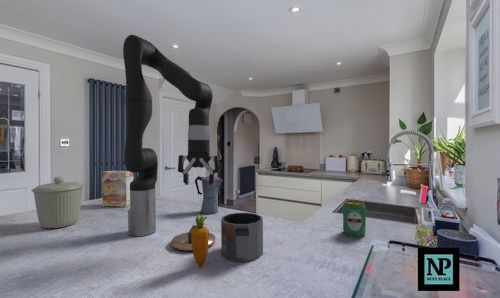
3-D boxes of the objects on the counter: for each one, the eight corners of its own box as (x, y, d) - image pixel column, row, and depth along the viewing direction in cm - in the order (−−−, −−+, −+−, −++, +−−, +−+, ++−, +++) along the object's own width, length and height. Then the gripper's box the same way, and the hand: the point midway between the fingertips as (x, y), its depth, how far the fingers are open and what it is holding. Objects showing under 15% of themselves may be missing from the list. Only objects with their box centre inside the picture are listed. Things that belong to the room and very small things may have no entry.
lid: (165, 253, 81) (165, 237, 81) (177, 236, 96) (177, 222, 96) (212, 252, 82) (212, 236, 82) (217, 235, 97) (217, 221, 96)
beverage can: (343, 235, 95) (343, 204, 95) (343, 228, 103) (343, 199, 102) (366, 238, 93) (366, 205, 92) (364, 231, 100) (364, 200, 100)
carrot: (192, 263, 74) (192, 212, 74) (209, 262, 75) (209, 212, 74) (190, 272, 69) (189, 217, 69) (208, 271, 70) (208, 216, 69)
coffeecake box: (102, 206, 142) (101, 171, 141) (111, 203, 149) (110, 170, 148) (126, 207, 139) (125, 172, 139) (134, 204, 146) (133, 170, 146)
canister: (22, 229, 105) (20, 178, 105) (67, 217, 122) (66, 173, 121) (50, 234, 98) (48, 180, 98) (94, 221, 115) (93, 175, 115)
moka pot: (220, 215, 123) (219, 174, 122) (190, 214, 126) (190, 173, 125) (226, 210, 132) (225, 172, 131) (198, 209, 135) (197, 171, 135)
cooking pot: (219, 265, 73) (219, 227, 73) (223, 242, 90) (223, 211, 89) (264, 264, 73) (264, 226, 73) (260, 241, 90) (260, 211, 90)
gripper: (175, 138, 86) (175, 186, 86) (217, 138, 85) (217, 186, 86) (182, 138, 93) (182, 182, 94) (220, 139, 93) (220, 183, 93)
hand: (198, 184), depth 90 cm, fingers open, 8 cm apart
